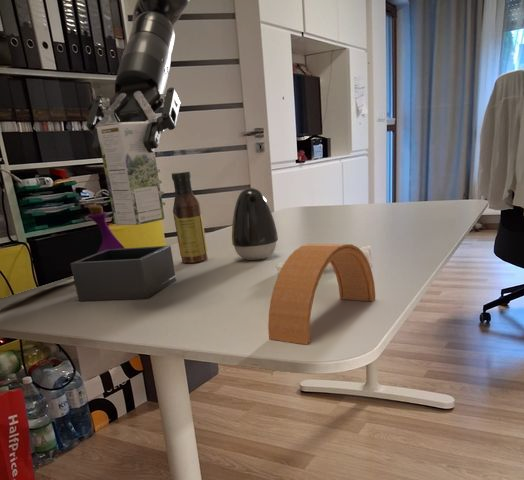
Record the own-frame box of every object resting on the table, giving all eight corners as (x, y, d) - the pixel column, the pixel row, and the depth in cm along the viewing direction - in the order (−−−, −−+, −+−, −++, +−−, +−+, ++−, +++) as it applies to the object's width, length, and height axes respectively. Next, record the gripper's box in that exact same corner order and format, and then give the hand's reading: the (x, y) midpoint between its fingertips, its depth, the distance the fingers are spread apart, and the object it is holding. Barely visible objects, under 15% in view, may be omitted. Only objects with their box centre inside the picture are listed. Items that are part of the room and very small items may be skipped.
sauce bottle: (191, 258, 125) (178, 171, 118) (213, 258, 123) (201, 169, 115) (175, 264, 120) (161, 173, 113) (198, 264, 117) (185, 171, 110)
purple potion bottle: (101, 278, 113) (83, 192, 107) (97, 272, 120) (79, 191, 114) (136, 272, 116) (120, 188, 110) (129, 266, 123) (114, 187, 116)
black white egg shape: (238, 265, 112) (229, 191, 106) (231, 257, 121) (223, 189, 116) (284, 258, 113) (278, 186, 108) (273, 251, 123) (267, 184, 118)
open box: (78, 301, 96) (69, 263, 93) (113, 283, 107) (106, 249, 105) (148, 298, 92) (141, 259, 90) (176, 280, 104) (170, 245, 101)
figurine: (375, 258, 104) (289, 271, 110) (372, 232, 102) (284, 247, 108) (368, 281, 88) (268, 296, 94) (363, 251, 87) (262, 268, 93)
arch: (376, 299, 78) (375, 231, 74) (306, 344, 63) (300, 263, 59) (341, 296, 81) (338, 231, 77) (267, 338, 66) (259, 261, 63)
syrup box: (143, 219, 86) (126, 124, 80) (166, 219, 82) (150, 119, 77) (114, 225, 82) (94, 125, 76) (137, 226, 78) (117, 120, 73)
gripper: (92, 57, 81) (66, 137, 75) (176, 43, 78) (157, 126, 72) (115, 96, 88) (94, 173, 82) (194, 85, 84) (178, 164, 78)
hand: (123, 151), depth 77 cm, fingers closed on syrup box, 7 cm apart
